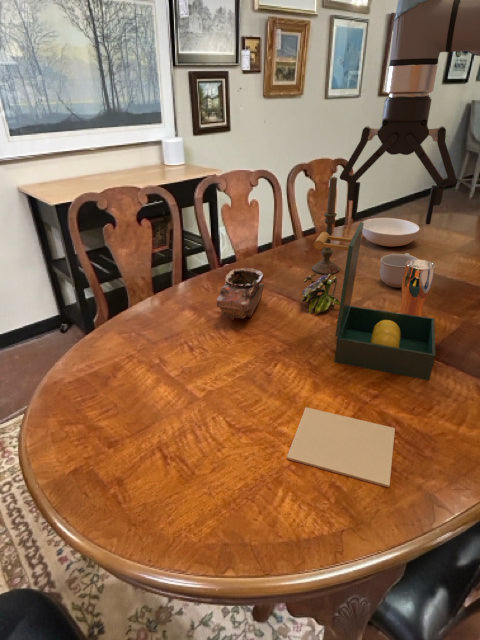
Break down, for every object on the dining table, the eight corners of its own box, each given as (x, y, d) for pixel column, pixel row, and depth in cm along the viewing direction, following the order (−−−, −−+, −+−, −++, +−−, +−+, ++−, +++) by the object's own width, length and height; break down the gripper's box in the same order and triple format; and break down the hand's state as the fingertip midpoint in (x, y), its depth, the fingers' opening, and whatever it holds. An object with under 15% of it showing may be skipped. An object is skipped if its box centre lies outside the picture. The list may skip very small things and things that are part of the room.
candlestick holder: (321, 276, 133) (329, 179, 119) (306, 266, 141) (312, 174, 126) (345, 272, 136) (356, 176, 122) (329, 262, 144) (338, 171, 129)
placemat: (394, 430, 74) (395, 427, 73) (389, 487, 63) (389, 485, 63) (305, 409, 79) (305, 406, 79) (286, 459, 68) (286, 457, 68)
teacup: (403, 294, 121) (408, 268, 117) (370, 283, 128) (373, 258, 124) (426, 280, 129) (431, 256, 125) (394, 271, 136) (398, 247, 132)
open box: (428, 342, 98) (434, 318, 95) (428, 382, 85) (435, 355, 82) (345, 328, 105) (348, 305, 101) (334, 364, 91) (336, 338, 88)
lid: (363, 222, 91) (325, 218, 94) (353, 246, 78) (309, 240, 80) (350, 304, 101) (316, 298, 104) (339, 337, 88) (300, 329, 90)
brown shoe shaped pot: (281, 300, 119) (282, 268, 114) (256, 334, 103) (256, 299, 98) (238, 293, 123) (237, 263, 119) (208, 325, 107) (206, 291, 103)
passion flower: (307, 319, 120) (311, 278, 122) (345, 320, 115) (348, 278, 116) (293, 312, 110) (297, 268, 112) (333, 314, 105) (337, 267, 107)
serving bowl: (355, 248, 156) (357, 230, 152) (363, 232, 172) (365, 215, 169) (414, 255, 148) (418, 236, 145) (417, 237, 165) (420, 220, 162)
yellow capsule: (372, 335, 100) (376, 313, 97) (398, 340, 98) (403, 317, 96) (366, 362, 91) (370, 339, 88) (395, 368, 89) (400, 344, 86)
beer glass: (405, 309, 113) (416, 257, 106) (429, 319, 108) (442, 265, 101) (389, 317, 109) (399, 263, 102) (413, 327, 104) (425, 272, 97)
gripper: (488, 93, 70) (459, 219, 80) (337, 96, 78) (328, 210, 88) (494, 94, 64) (462, 230, 74) (330, 97, 72) (321, 220, 82)
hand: (389, 219), depth 81 cm, fingers open, 13 cm apart
